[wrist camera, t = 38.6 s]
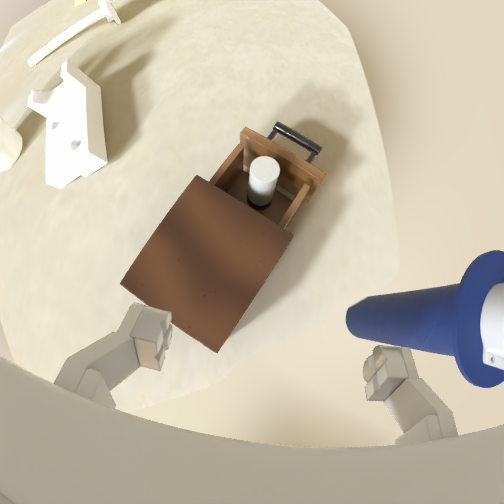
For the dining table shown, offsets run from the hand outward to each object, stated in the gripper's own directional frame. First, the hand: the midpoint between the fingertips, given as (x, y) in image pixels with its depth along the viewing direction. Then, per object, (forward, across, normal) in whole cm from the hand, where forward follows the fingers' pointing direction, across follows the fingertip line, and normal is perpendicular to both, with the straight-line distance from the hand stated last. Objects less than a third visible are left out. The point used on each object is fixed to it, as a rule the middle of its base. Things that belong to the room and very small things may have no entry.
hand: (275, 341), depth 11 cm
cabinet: (+24, +6, +16) cm, 29 cm away
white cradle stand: (+36, +35, +4) cm, 51 cm away
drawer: (+31, +1, +8) cm, 32 cm away
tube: (+30, +2, +8) cm, 31 cm away
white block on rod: (+59, +52, -18) cm, 80 cm away
